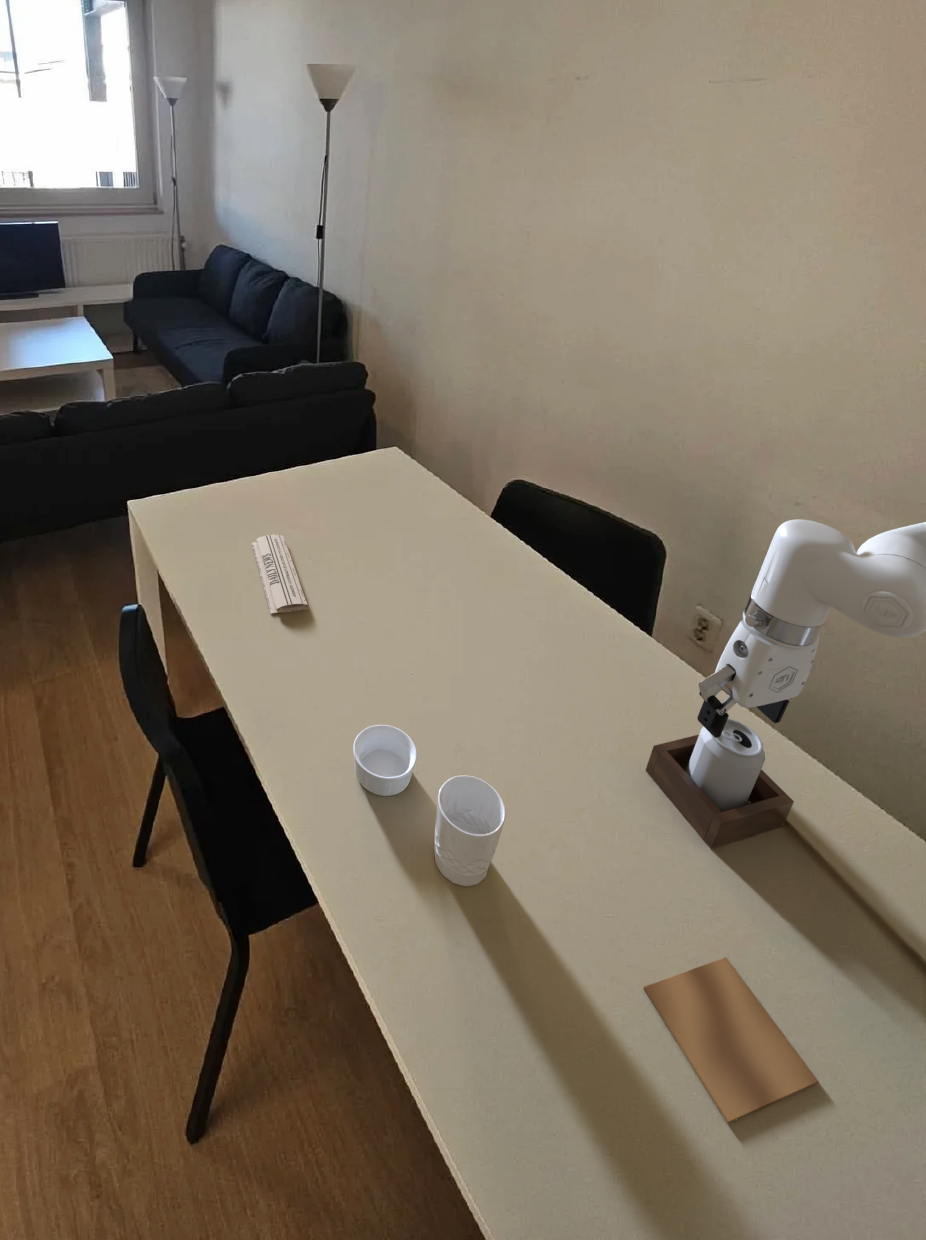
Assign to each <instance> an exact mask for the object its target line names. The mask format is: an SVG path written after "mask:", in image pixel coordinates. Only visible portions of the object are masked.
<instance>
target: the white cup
mask: <svg viewBox="0 0 926 1240" xmlns="http://www.w3.org/2000/svg"><path fill="white" fill-rule="evenodd" d="M436 806H437V807H436V816H435V827H434V845H433V854H434V855H433V856H434V862H435V865H436V866H437V868H438V870H439V872H440V873H441V875H442V876H444V877H445V878H446V879H447V880H448V881H450V882H451V883H453V884H455V885H459V886H462V887H470V886H476V885H479V884H480V883H481V882H482V881H483V880H484V879H485V878H486V877H487V875H488V871H489V867H490V865H491V863H492V861H493V859H494V856H495V853H496V850H497V847H498V844H499V841H500V837H501V834H502V832H503V831H502V830H503V828H504V825H505V821H506V814H507V811H506V807H505V803H504V800H503V798H502V797H501V795H500V793H499V791H497V790H496V789H495V787H493V786H492V785H491V784H489V783H488V782H487V781H485V780H483V779H481V778H479V777H476V776H472V775H463V774H462V775H456V776H453V777H450V778H448V779H447V780H446V781H445V782H444V783H442V785H441V786H440V788H439V791H438V796H437V805H436Z"/></svg>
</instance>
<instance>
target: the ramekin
mask: <svg viewBox="0 0 926 1240" xmlns="http://www.w3.org/2000/svg"><path fill="white" fill-rule="evenodd" d="M352 752H353V758H354V772H355V775H356V778H357V780H358V781H359V784H360V785H361V786H362V787H363V788H364V789H365V790H366V791H368V792H370V793H371V794H374V795H377V796H382V797H390V796H395V795H398V794H401V793H402V792H404V791H405V789H407V787H408V786H409V784H410V782H411V779H412V776H413V772H414V769H415V767H416V764H417V761H418V750H417V748H416V744H415V742H414V740H413V739H412V738H411V737H410V736H409V735H408V734H407V732H405V731H403V730H402V729H400V728H398V727H395V726H393V725H388V724H375V725H374V724H373V725H370V726H367V727H366V728H364V729H362V730H361V731H360V732H359V733H358V734H357V736H356V737H355V739H354V742H353V745H352Z"/></svg>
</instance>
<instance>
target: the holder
mask: <svg viewBox="0 0 926 1240" xmlns="http://www.w3.org/2000/svg"><path fill="white" fill-rule="evenodd" d="M698 737H699V734H695V735H691V736H688V737H682V738H679V739H675V740H671V741H667V742H663V743H658V744H654V745H653V746H652V749H651V752H650V755H649V758H648V761H647V763H646V766H645V772H646V773H647V774H648V776H649V777H650V778H651V779H652V781H653V782H654V783H655V784H656V785H657V787H658V788H659V789H660V790H661V791H662V793H663V794H664V795H665V797H667V799H668V800H669V801H670V802H671V804H673V806H674V807H675V808H676V809H677V810H678V812H679V813H680V814H681V815H682V816H683V818H684V819H685V820H686V821H687V823H688V824H689V825H690V826H691V828H693V830H694V831H695V832H696V833H697V834H698V836H699V837H700V838H701V840H702V841H703V842H704V843H705V844H706V845H707V846H708V847H709V849H710V850H712V849H716V848H719V847H722V846H725V845H728V844H732V843H734V842H739V841H741V840H745V839H748V838H752V837H754V836H758V835H761V834H765V833H768V832H771V831H774V830H777V829H780V828H783V826H784V824H785V822H786V820H787V818H788V815H789V813H790V812H791V810H792V807H793V805H794V803H795V801H794V800H793V799H792V798H791V797H790V796H789V795H788V794H787V793H786V792H785V791H784V790H783V789H782V788H781V787H780V785H778V784H777V783H776V782H775V781H774V780H773V779H772V778H771V777H770V776H769V775H768V774H767V773H766V772H765V771H764V770H763V769H762V768H761V771H760V773H759V775H758V778H757V780H756V782H755V784H754V787H753V789H752V791H751V794H750V796H749V798H748V801H747V802H749V803H750V804H746V805H745V806H743V807H739V808H736V809H732V810H729V811H725V812H722V813H721V811H720V810H719V809H718V808H717V807H716V806H715V804H714V803H713V802H712V801H711V800H710V799H709V798H708V797H707V796H706V794H705V793H704V792H703V791H702V790H701V789H700V788H699V787H698V785H697V784H696V783H695V782H694V781H693V780H692V779H691V778H690V777H689V775H688V774H687V773H686V769H687V766H688V764H689V761H690V758H691V756H692V753H693V750H694V747H695V745H696V742H697V739H698Z"/></svg>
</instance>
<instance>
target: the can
mask: <svg viewBox="0 0 926 1240" xmlns="http://www.w3.org/2000/svg"><path fill="white" fill-rule="evenodd" d="M698 735H699V737H698V739H697V742H696V745H695V747H694V750H693V753H692V756H691V758H690V761H689V764H688V766H687V768H685V772H686V773H687V774H688V775H689V777H690V778H691V779H692V780H693V781H694V782H695V783H696V784H697V785H698V787H699V788H700V789H701V790H702V791H703V792H704V793H705V794H706V796H707V797H708V798H709V799H710V800H711V801H712V802H713V803H714V804H715V806H716V807H717V808H718V809H719V810H720V811H721V813H722V812H725V811H729V810H732V809H736V808H739V807H743V806H746V805H747V803H748V802H749V801H748V798H749V796H750V794H751V791H752V789H753V787H754V784H755V782H756V780H757V778H758V775H759V773H760V771H761V769H762V768H763V766H764V764H765V762H766V753H765V751H764V743H763V741H762V739H761V738H760V736H759V735H758V734H757V732H756V731H754V730H753V729H751V728H750V727H749V726H748V725H747V724H744V723H743V722H741V721H739V720H736V719H734V718H730V717H728V719H727V722H726V724H725V726H724V729H723V731H722V734H721V736H720V737H718V738H715V737H713V735H712V734H711V733H710V732H709V731H708V730H707V729H706V728H705V727H704V726H703V725H702V727H701V729H700V731H699V734H698Z"/></svg>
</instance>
